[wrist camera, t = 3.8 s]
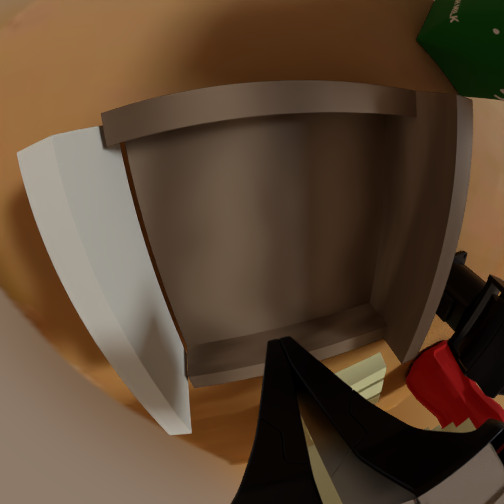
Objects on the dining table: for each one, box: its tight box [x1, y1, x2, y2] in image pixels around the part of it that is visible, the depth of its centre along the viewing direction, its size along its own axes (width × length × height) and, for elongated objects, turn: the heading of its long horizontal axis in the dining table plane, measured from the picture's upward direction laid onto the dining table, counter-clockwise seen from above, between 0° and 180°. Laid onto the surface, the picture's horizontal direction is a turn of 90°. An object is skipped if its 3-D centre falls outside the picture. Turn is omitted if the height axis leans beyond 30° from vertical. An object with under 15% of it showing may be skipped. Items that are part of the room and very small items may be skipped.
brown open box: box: [101, 80, 473, 388], centre depth 15 cm, size 17×18×8 cm
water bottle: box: [406, 340, 504, 429], centre depth 24 cm, size 9×11×25 cm
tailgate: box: [17, 126, 192, 435], centre depth 13 cm, size 2×17×7 cm, turn 7°
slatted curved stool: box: [300, 352, 476, 504], centre depth 25 cm, size 30×16×18 cm, turn 16°
